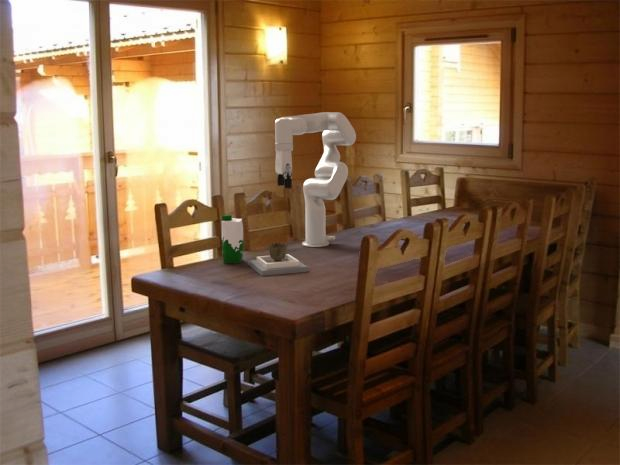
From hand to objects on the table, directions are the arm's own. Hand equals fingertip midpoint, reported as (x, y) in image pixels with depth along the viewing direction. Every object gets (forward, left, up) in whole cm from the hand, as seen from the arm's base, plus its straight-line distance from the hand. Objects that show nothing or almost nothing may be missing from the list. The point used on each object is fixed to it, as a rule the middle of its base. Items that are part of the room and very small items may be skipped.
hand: (284, 186), depth 315 cm
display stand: (+11, +24, -30) cm, 40 cm away
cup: (+11, +24, -28) cm, 39 cm away
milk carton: (+25, +5, -31) cm, 40 cm away
